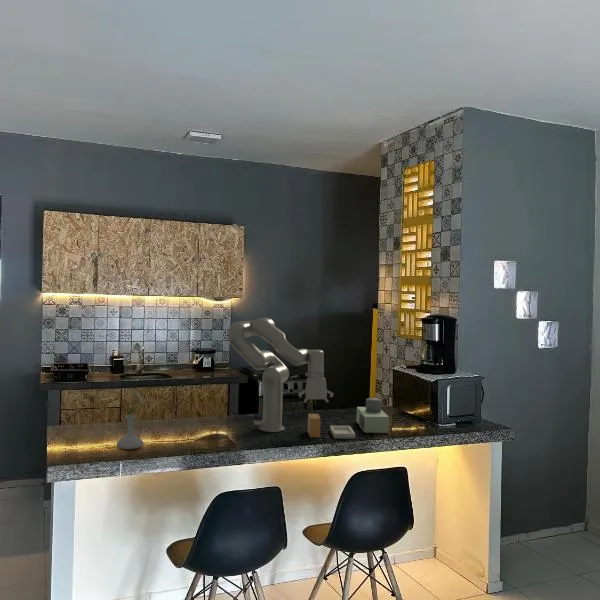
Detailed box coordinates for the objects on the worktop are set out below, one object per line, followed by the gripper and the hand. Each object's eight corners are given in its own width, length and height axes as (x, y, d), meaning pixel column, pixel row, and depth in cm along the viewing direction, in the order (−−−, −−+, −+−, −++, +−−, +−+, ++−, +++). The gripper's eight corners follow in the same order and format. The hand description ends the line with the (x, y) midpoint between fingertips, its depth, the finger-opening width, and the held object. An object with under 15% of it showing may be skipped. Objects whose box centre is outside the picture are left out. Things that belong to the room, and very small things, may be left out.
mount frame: (334, 438, 287) (334, 433, 287) (329, 430, 303) (330, 425, 303) (355, 438, 288) (355, 433, 288) (349, 430, 304) (349, 425, 303)
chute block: (309, 437, 288) (310, 418, 288) (307, 431, 299) (308, 413, 299) (320, 437, 289) (320, 418, 289) (317, 431, 300) (318, 413, 300)
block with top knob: (363, 432, 301) (364, 404, 301) (355, 421, 325) (356, 395, 325) (388, 432, 302) (389, 404, 302) (378, 421, 326) (379, 396, 326)
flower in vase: (134, 452, 253) (136, 393, 252) (110, 449, 256) (112, 391, 255) (150, 445, 265) (152, 388, 265) (127, 442, 268) (128, 386, 268)
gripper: (298, 376, 289) (298, 412, 289) (334, 376, 290) (334, 411, 290) (297, 374, 296) (297, 409, 297) (332, 374, 298) (332, 408, 298)
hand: (315, 410), depth 294 cm, fingers open, 9 cm apart
